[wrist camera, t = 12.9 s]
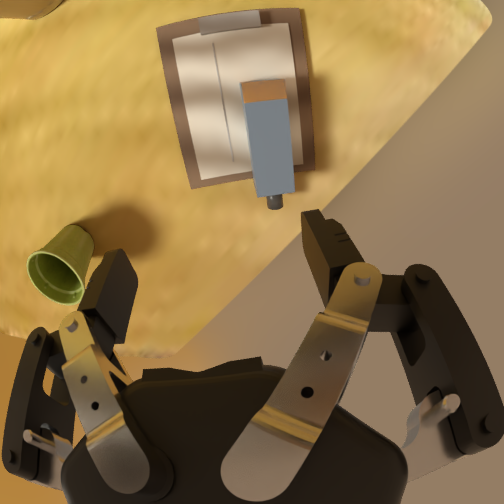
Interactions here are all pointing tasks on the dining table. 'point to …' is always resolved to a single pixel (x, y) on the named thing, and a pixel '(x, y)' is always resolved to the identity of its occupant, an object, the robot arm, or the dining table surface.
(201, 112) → the clipboard
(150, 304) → the dining table surface
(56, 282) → the plant pot
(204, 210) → the dining table surface
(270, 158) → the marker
